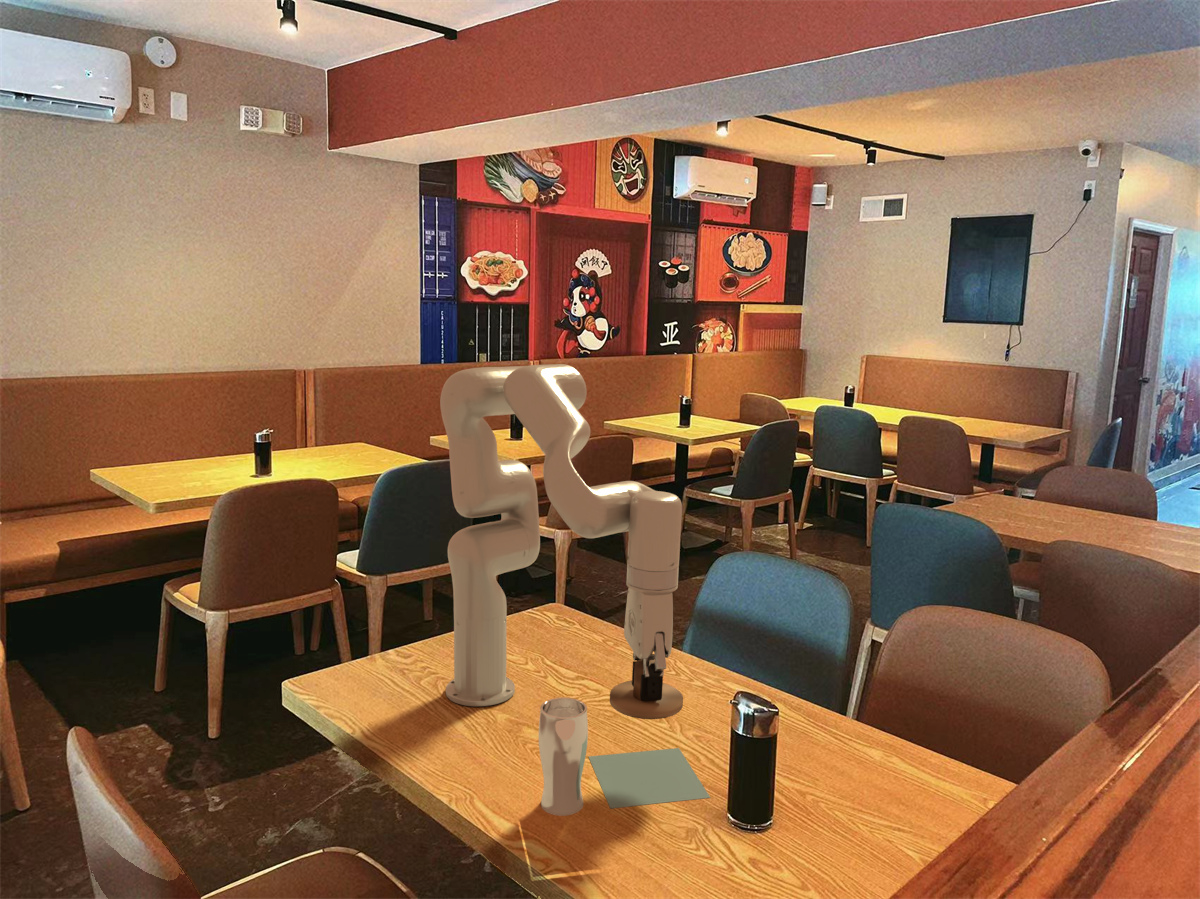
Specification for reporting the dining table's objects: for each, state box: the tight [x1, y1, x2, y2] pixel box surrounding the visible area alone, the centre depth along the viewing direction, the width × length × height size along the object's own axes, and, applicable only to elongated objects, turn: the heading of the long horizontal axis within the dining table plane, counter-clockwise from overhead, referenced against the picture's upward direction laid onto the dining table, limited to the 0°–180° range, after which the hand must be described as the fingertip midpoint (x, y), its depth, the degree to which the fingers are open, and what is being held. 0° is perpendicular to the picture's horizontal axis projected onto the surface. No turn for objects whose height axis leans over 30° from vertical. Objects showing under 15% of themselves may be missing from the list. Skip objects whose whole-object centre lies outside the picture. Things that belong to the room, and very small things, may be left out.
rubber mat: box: [587, 747, 711, 810], centre depth 135 cm, size 15×15×1 cm
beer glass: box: [538, 697, 589, 817], centre depth 126 cm, size 7×7×15 cm
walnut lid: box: [609, 659, 684, 720], centre depth 133 cm, size 11×11×6 cm
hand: (646, 691), depth 133 cm, fingers closed on walnut lid, 4 cm apart
